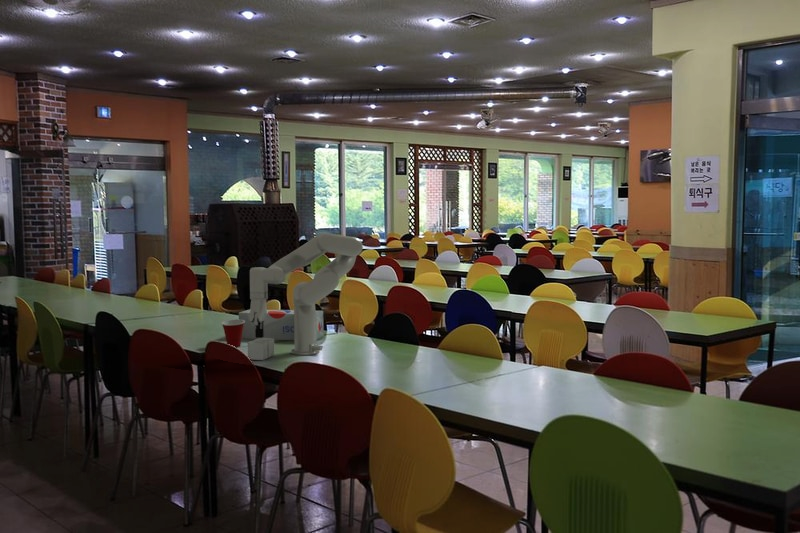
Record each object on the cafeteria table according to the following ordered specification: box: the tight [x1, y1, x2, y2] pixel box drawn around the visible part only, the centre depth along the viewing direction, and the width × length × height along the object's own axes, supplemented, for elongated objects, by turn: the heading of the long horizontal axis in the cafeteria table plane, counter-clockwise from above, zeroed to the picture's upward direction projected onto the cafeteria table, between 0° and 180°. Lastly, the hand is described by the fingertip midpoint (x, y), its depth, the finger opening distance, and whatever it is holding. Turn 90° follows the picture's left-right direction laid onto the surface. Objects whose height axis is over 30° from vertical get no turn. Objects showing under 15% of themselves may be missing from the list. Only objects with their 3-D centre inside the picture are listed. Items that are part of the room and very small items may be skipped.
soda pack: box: [238, 308, 325, 342], centre depth 376 cm, size 41×13×14 cm, turn 76°
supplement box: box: [247, 338, 275, 361], centre depth 327 cm, size 7×7×13 cm
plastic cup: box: [220, 319, 245, 348], centre depth 353 cm, size 11×11×12 cm
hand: (259, 337), depth 332 cm, fingers closed
